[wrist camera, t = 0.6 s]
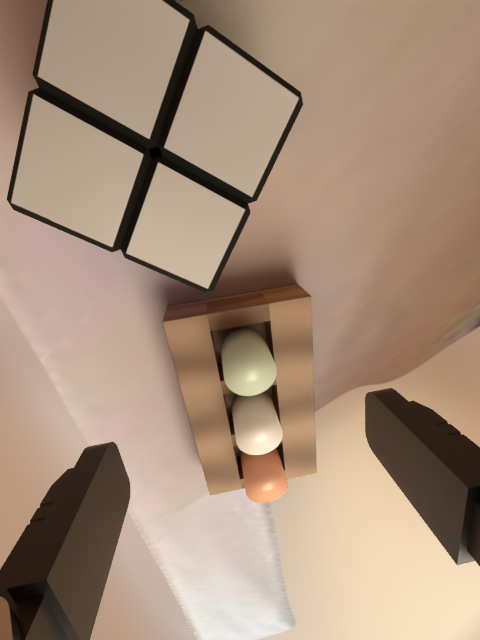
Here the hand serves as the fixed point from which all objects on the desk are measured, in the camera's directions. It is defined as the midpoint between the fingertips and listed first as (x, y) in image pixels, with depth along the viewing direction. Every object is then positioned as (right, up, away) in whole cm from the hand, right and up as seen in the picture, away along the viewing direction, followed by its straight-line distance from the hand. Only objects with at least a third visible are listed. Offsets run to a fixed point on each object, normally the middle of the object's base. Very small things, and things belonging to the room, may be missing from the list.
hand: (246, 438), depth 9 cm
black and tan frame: (-5, +15, +12) cm, 20 cm away
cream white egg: (+1, -4, +18) cm, 19 cm away
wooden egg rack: (+1, -3, +21) cm, 21 cm away
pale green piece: (0, +1, +16) cm, 16 cm away
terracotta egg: (+2, -10, +21) cm, 24 cm away
